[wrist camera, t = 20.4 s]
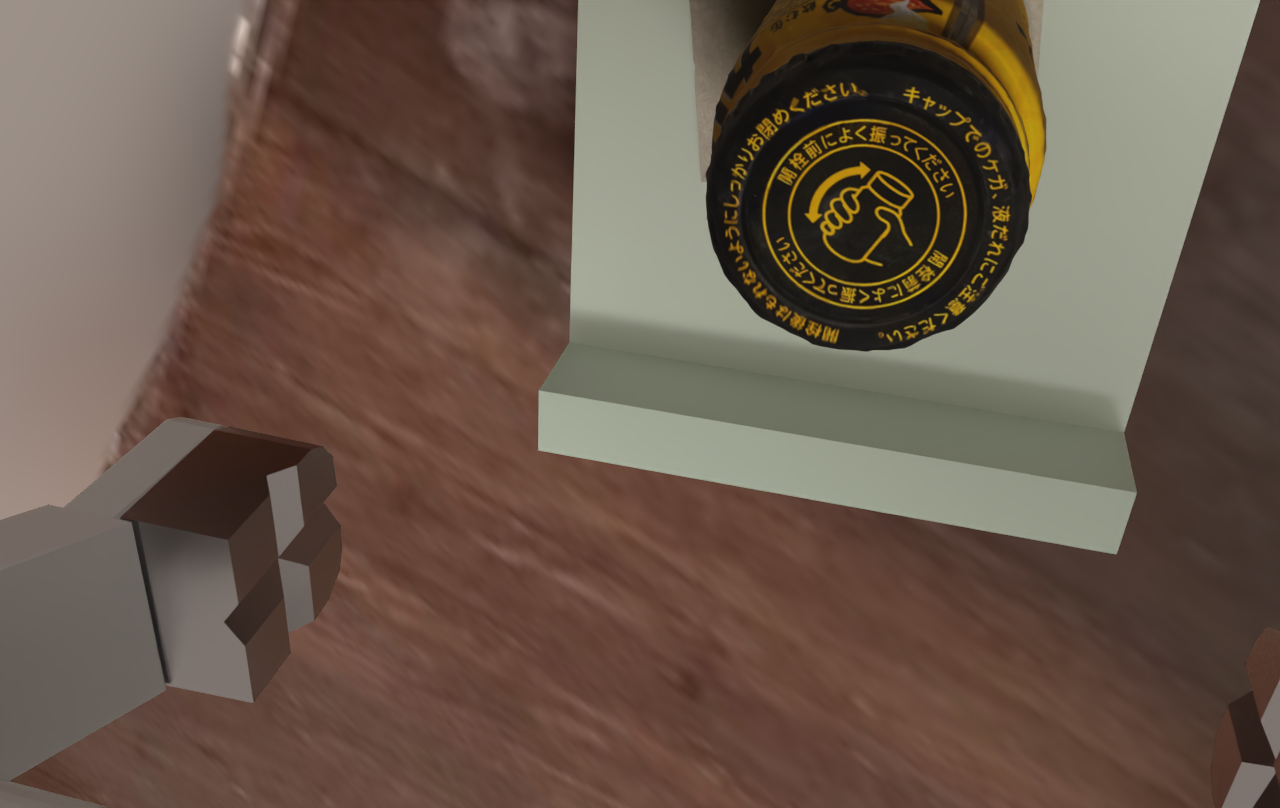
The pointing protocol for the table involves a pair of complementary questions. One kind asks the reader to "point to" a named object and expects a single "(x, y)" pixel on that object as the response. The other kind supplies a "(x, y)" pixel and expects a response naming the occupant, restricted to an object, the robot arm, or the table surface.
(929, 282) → the condiment
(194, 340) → the table surface
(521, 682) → the table surface
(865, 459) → the lid
